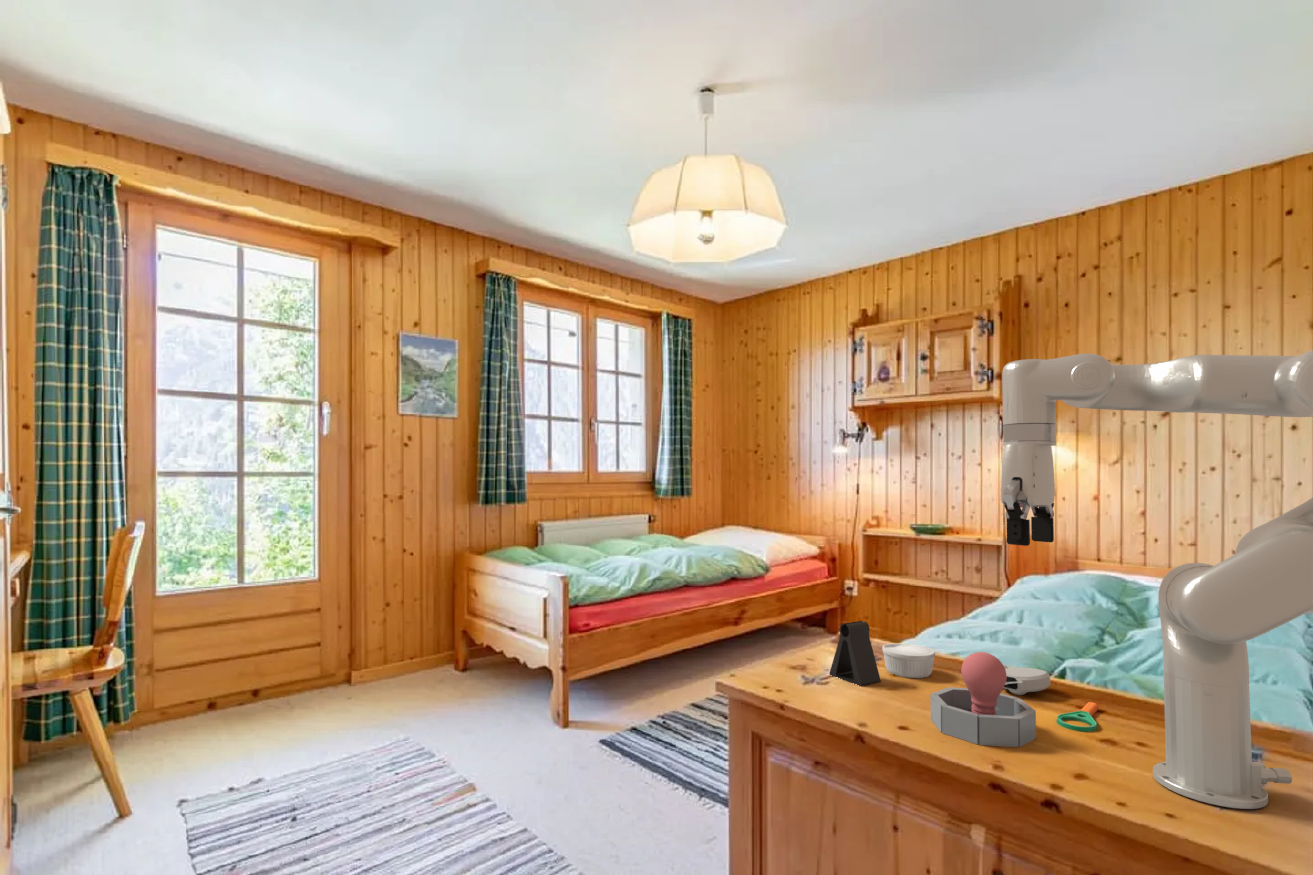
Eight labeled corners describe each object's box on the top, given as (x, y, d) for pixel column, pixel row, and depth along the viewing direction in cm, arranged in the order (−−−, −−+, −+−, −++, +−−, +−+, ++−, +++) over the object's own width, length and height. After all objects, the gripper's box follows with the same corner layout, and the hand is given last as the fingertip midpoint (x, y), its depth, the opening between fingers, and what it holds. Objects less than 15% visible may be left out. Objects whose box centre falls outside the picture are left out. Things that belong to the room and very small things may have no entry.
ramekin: (897, 662, 157) (897, 640, 158) (944, 673, 149) (944, 649, 149) (872, 671, 150) (872, 647, 150) (921, 683, 142) (921, 658, 142)
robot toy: (958, 686, 143) (1026, 702, 130) (957, 664, 144) (1024, 678, 131) (994, 678, 149) (1062, 693, 136) (993, 657, 149) (1060, 670, 136)
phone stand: (829, 675, 146) (829, 619, 147) (848, 671, 149) (848, 617, 150) (861, 686, 139) (860, 628, 139) (880, 682, 142) (880, 625, 142)
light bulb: (997, 733, 111) (996, 660, 112) (954, 721, 117) (954, 651, 117) (1013, 723, 116) (1012, 653, 117) (972, 712, 121) (971, 645, 122)
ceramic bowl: (1009, 715, 123) (1009, 690, 123) (1049, 748, 108) (1048, 720, 108) (923, 710, 125) (923, 685, 125) (949, 742, 110) (949, 715, 110)
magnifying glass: (1091, 737, 114) (1091, 727, 114) (1052, 727, 119) (1051, 717, 119) (1111, 715, 125) (1111, 706, 125) (1074, 707, 129) (1074, 698, 129)
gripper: (1025, 439, 116) (1027, 538, 115) (981, 434, 105) (982, 544, 104) (1074, 438, 110) (1076, 542, 109) (1033, 432, 99) (1034, 548, 98)
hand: (1030, 543), depth 107 cm, fingers open, 9 cm apart
